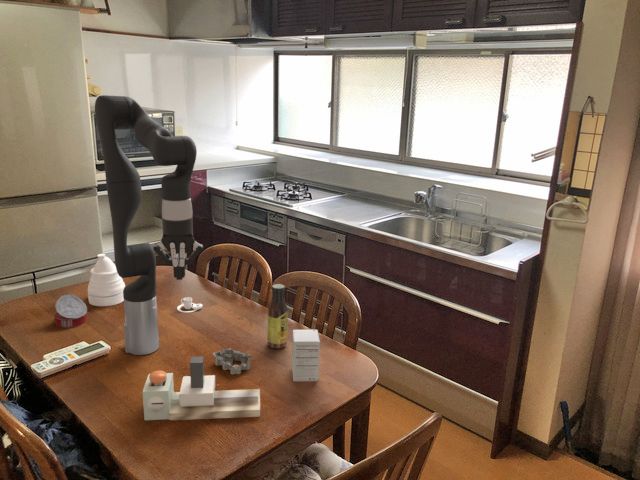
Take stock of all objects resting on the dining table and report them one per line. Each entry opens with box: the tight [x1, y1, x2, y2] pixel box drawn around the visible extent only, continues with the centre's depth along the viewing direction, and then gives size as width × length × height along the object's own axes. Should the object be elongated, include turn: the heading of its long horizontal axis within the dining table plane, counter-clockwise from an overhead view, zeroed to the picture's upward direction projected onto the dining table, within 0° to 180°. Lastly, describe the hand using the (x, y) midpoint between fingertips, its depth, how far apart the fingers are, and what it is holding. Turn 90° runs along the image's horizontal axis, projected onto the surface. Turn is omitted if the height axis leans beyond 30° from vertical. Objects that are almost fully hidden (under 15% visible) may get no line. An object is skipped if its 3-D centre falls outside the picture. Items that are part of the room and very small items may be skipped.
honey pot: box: [87, 253, 126, 307], centre depth 190 cm, size 13×13×18 cm
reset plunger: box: [149, 370, 167, 386], centre depth 129 cm, size 4×4×6 cm
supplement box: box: [291, 329, 321, 382], centre depth 147 cm, size 7×7×13 cm
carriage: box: [179, 355, 216, 407], centre depth 130 cm, size 8×8×12 cm
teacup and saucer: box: [176, 296, 203, 314], centre depth 188 cm, size 9×8×4 cm
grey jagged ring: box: [212, 347, 253, 375], centre depth 152 cm, size 11×8×4 cm
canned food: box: [54, 293, 89, 329], centre depth 174 cm, size 11×10×10 cm
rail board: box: [168, 388, 261, 421], centre depth 132 cm, size 22×9×4 cm, turn 97°
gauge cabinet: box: [142, 372, 175, 421], centre depth 129 cm, size 6×9×8 cm
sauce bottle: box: [266, 283, 289, 350], centre depth 162 cm, size 7×6×20 cm
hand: (179, 278), depth 138 cm, fingers closed
